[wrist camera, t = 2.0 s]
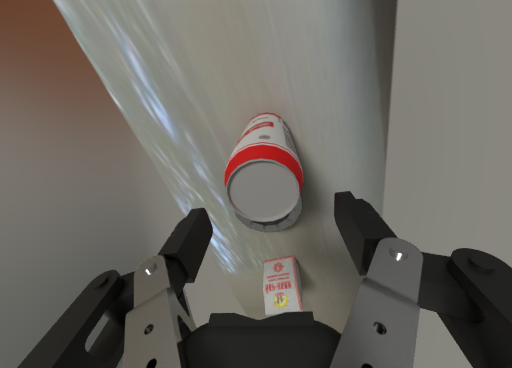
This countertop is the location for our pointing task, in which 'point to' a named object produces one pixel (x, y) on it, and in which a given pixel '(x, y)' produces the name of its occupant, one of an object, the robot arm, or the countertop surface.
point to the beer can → (264, 171)
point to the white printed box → (282, 286)
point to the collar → (276, 224)
